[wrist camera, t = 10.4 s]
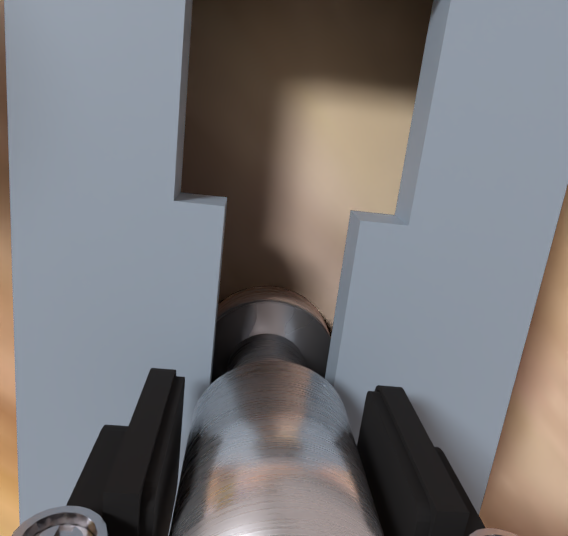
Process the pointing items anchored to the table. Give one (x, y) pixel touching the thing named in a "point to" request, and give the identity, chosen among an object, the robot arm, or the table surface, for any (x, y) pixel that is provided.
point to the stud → (271, 431)
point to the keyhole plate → (211, 224)
